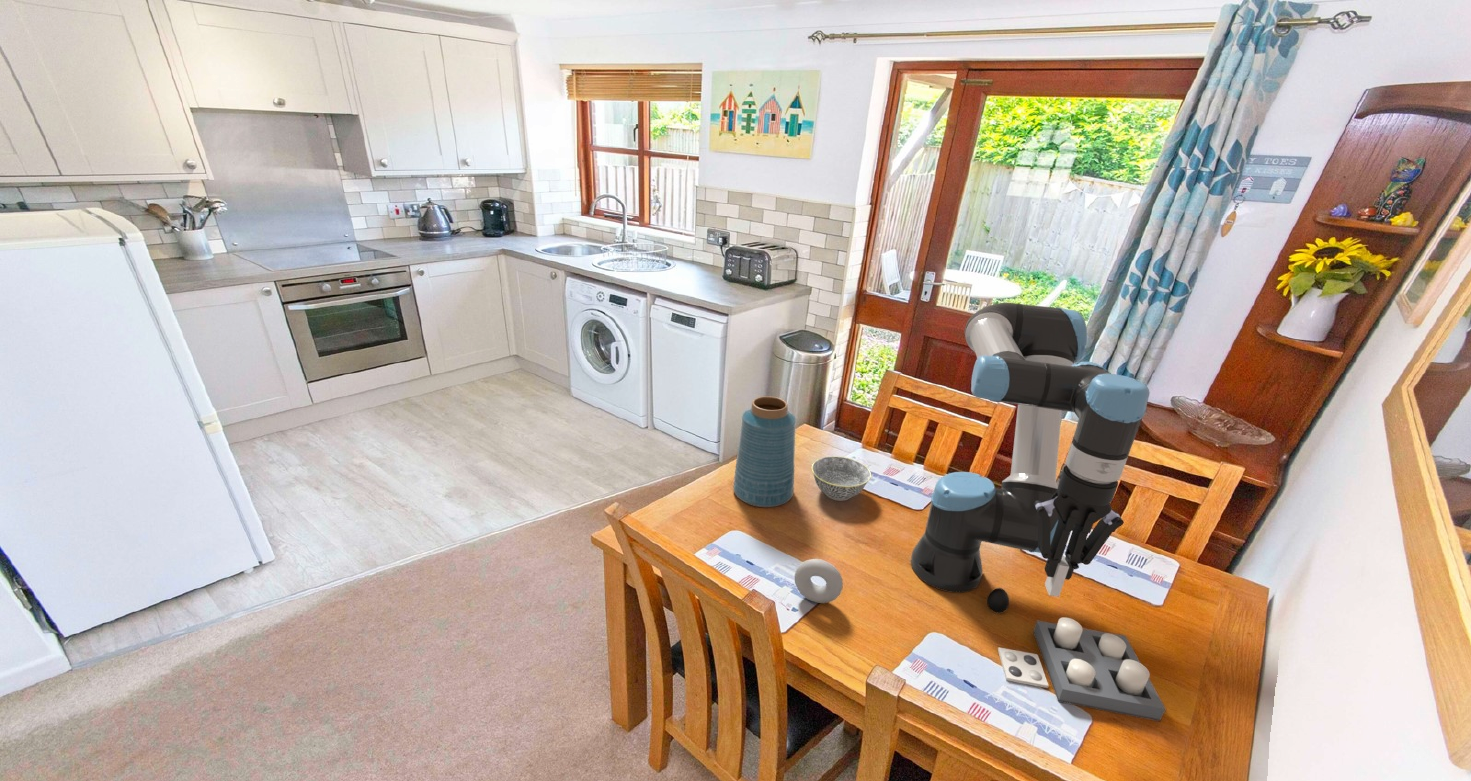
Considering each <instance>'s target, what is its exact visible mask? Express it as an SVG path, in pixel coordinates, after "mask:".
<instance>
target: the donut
mask: <svg viewBox="0 0 1471 781" xmlns="http://www.w3.org/2000/svg"><path fill="white" fill-rule="evenodd" d="M812 577H819V578H821V579H823V581H824V582H825V583H826V584H824V585H818V584H816V583H814V582H813V581H812ZM794 583H795V587H796V588H797V590H798V592H799V593H800V594H801V596H803V597H804V598H806V599H807V600H809V601H811V602H813V603H817V604H818V603H819V604H827V603H831V602H833V601H835V600H836V599H837V598H839V597H840V595H841V593H842V590H843V587H844V586H843V585H844V584H843V577H842V575H841V573H840V571H839V570H838V569H837V568H836V566H834V564H832V563H830V562H829V561H826V560H824V559H820V558H812V559H811V558H810V559H807V560H805V561H802V562H801V563H800V564H799V565H798V566H797V568H796V569H795V573H794Z"/></svg>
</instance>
